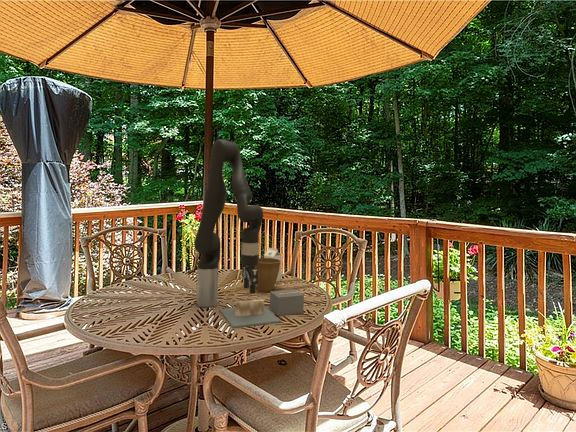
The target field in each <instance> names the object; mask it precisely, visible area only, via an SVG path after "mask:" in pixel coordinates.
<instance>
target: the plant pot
mask: <svg viewBox="0 0 576 432" xmlns="http://www.w3.org/2000/svg"><path fill="white" fill-rule="evenodd" d="M280 263H281V264H282V259H281V260H279V259H274V258H264V257H259V264H258V265H255V270H258V284H256V286H257V289H258V291H259V292H263V293H265V292H266V293H270V291H274V287H275V285H276V283H277V282H276V280H277V276H278V273H279V268H280Z"/></svg>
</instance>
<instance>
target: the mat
mask: <svg viewBox="0 0 576 432" xmlns="http://www.w3.org/2000/svg"><path fill="white" fill-rule="evenodd" d="M219 312H220V313H221V315H222V316H223V318H224V319H225V321H227V322H228V324H229V325H230V326H231V328H232V329H238V328H246V327H255V326H263V325H271V324H279V323H282V322H281V319H280V318H278V317H277V315H276V314H275V313H273V312H271V310H270V309H268V308H267V307H266V306H264V314H260V315H248V316H237V317H236V316H235V307H229V308H220V309H219Z"/></svg>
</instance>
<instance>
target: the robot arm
mask: <svg viewBox="0 0 576 432" xmlns="http://www.w3.org/2000/svg"><path fill="white" fill-rule="evenodd" d="M209 163H210V164H209V173H208V178H207V184H206V190H205V194H204V200H203V206H202V211H201V216H200V222H199V225H198V228H197V232H196V235H195V239H194V248H195V250H196V252H197V253H198V254H199V255H200V254H201V256H200V258H199V260H198V261H197V276H196V277H197V279H196V280H197V282H196V290H195V291H196V293H195V295H196V297H195V298H196V300H195V301H196V306H197V307H198V308H199V307H200V308H201V307H202V308H213V307H215V306H218V303H219V297H218V296H219V294H218V293H219V290H218V289H219V263H220V261H221V259H220V258H221V247H222V246H221V238H220V236H219V234H217V233H216V232H215V228H216V224H217V223H218V220H219V218H220V217H221V214H222V213H223V211H224V208H225V205H226V200H227V195H228V194H227V193H228V192H227V191H228V190H227V186H226V183H225V180H224V176H223V169H224V168H223V167H224V163H228V164H229V166H230V167H231V170H232V176H231V182H230V183H231V189H232V192H233V194H234V197H235V200H236V201H235V202H236V211H237V216H238V219H239V220H240V221H241V222H242V223H246V224H247V223H249V225H248V226H247V227H245V228H243V229H242V230H241V246H240V264H241V266H242V267H241V278H242V279H243V288H244V289H249V294H251V295H252V294H253V295H254V294H256V286H257V284H258V270H255V265H258V264H259V258H260V241H259V240H260V230H261V226H262V223H263V220H264V210H263V208H262V206H260V205H258V204H251V205H249V204H248V203H250V202H251V201H252V199H253V198H254V197H253V193H252V191H251V190H252V189H251V187H250V185H249V183H248V180H247V177H246V173H245V170H244V169H245V168H244V165H243V164H244V163H243V160H242V154H241V151H240V148H239V145H238V144H237V143H236V142H234V141H229V140H226V139H222V138H221V139H220V138H219V139H217V140H215V141H214V142H213V145H212V146H211V152H210V162H209Z"/></svg>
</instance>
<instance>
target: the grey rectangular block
mask: <svg viewBox="0 0 576 432" xmlns="http://www.w3.org/2000/svg"><path fill="white" fill-rule="evenodd" d="M304 300H305V295H304V294H303V293H302V292H300V291H298V290H296V289H295V288H293V289H283V290H282V289H280V290H272V291H270V292H269V310H270V311H272V313H273V314H274V315H275V316H279V317H280V316H289V315H296V314H297V315H298V314H304V302H305V301H304Z"/></svg>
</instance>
